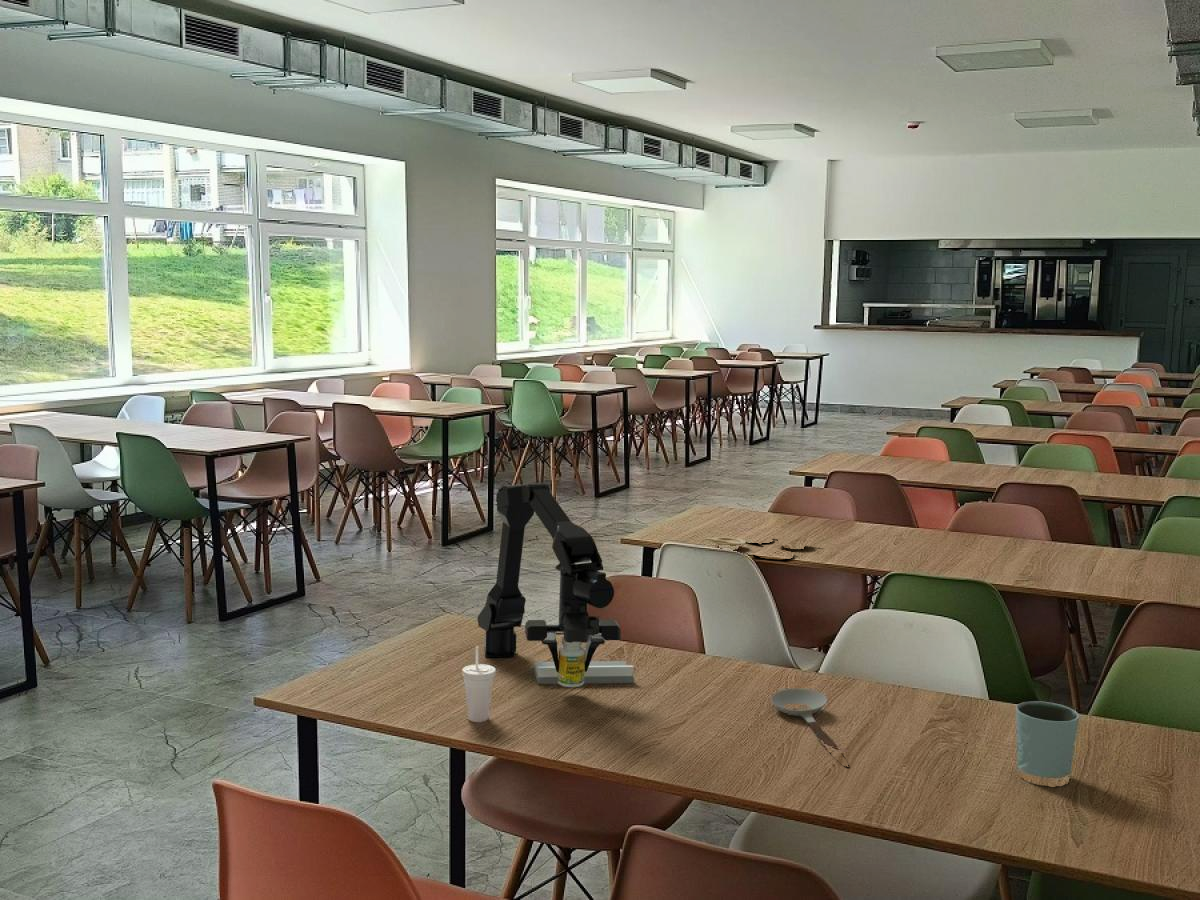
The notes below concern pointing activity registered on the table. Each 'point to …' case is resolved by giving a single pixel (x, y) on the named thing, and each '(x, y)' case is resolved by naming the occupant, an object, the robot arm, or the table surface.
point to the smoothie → (478, 689)
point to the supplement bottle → (571, 664)
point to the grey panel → (588, 672)
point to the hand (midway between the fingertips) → (571, 671)
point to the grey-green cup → (1045, 738)
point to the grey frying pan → (810, 700)
